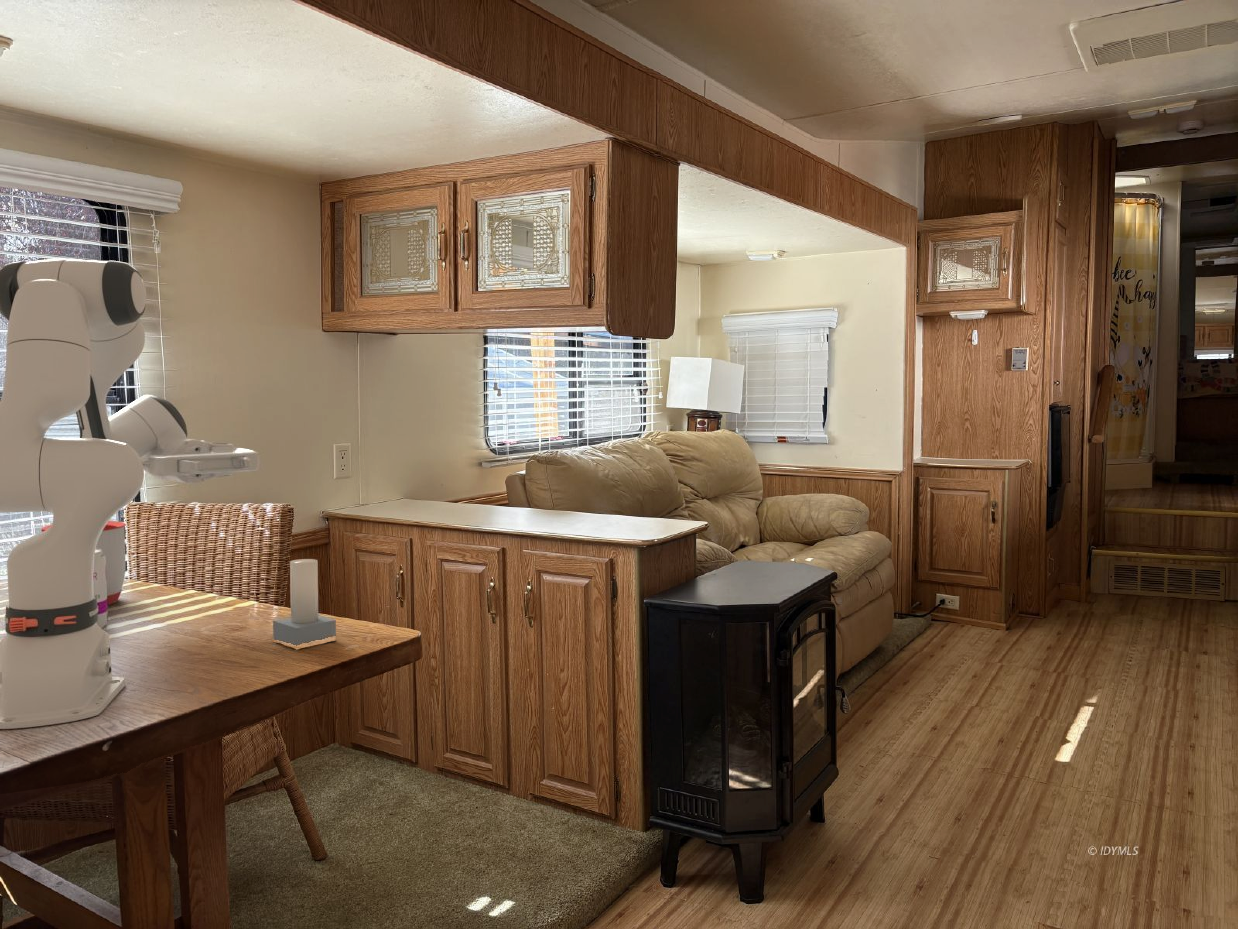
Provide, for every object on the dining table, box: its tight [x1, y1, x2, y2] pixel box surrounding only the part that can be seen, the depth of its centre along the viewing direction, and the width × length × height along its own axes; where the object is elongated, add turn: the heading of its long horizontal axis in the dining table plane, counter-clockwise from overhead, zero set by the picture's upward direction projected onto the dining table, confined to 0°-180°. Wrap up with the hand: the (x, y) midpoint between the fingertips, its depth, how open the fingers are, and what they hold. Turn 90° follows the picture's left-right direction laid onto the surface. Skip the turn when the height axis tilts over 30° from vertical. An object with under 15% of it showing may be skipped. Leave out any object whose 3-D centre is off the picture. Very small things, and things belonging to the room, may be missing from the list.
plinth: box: [272, 614, 337, 646], centre depth 173 cm, size 8×8×4 cm
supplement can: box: [93, 549, 109, 629], centre depth 180 cm, size 8×8×15 cm
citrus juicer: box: [40, 520, 127, 606], centre depth 199 cm, size 16×17×20 cm
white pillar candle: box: [289, 558, 319, 623], centre depth 173 cm, size 5×5×11 cm
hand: (224, 465), depth 177 cm, fingers open, 8 cm apart
